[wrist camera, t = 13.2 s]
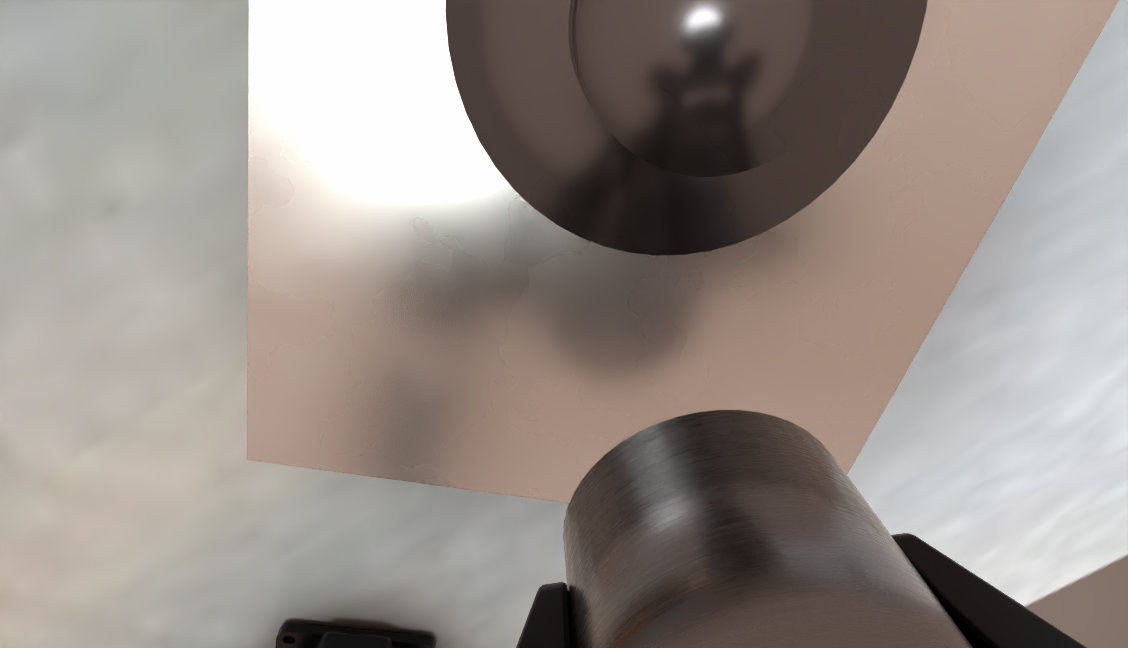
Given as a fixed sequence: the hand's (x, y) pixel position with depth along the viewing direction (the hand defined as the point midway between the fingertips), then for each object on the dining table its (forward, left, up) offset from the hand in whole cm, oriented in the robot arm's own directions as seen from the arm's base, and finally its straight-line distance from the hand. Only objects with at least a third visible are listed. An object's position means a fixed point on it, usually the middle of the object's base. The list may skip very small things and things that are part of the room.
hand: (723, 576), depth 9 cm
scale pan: (+4, +1, -9) cm, 10 cm away
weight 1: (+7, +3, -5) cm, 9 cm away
